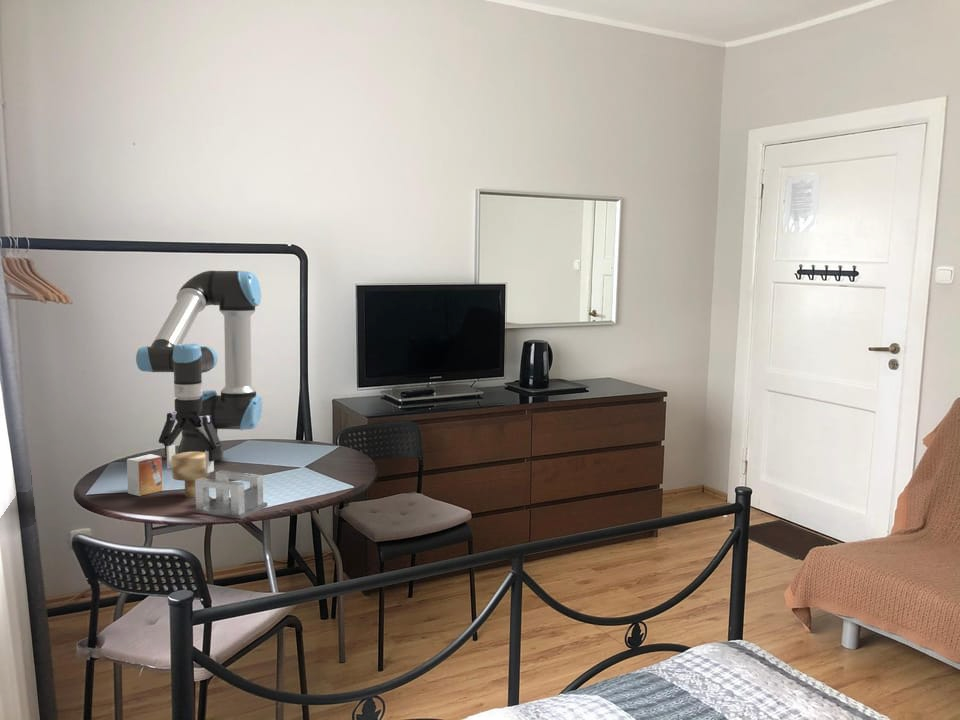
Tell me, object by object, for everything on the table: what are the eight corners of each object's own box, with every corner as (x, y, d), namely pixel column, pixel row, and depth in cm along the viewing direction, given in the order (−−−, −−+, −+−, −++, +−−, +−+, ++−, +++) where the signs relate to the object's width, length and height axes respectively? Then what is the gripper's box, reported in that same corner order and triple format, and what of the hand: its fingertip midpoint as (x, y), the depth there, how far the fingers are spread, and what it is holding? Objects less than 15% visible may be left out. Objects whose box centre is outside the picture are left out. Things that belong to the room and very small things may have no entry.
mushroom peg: (165, 498, 226) (164, 458, 225) (189, 489, 236) (187, 450, 234) (194, 502, 223) (192, 461, 222) (216, 492, 233) (215, 453, 231)
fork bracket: (191, 512, 215) (190, 480, 214) (220, 499, 226) (219, 469, 225) (241, 519, 210) (240, 486, 209) (267, 506, 221) (266, 475, 220)
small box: (139, 497, 228) (137, 461, 226) (127, 493, 231) (126, 458, 229) (163, 490, 235) (162, 456, 233) (151, 487, 237) (150, 453, 236)
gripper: (144, 396, 226) (146, 468, 229) (215, 402, 218) (217, 477, 221) (162, 392, 233) (164, 462, 236) (232, 398, 225) (234, 470, 228)
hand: (190, 469), depth 228 cm, fingers open, 13 cm apart
